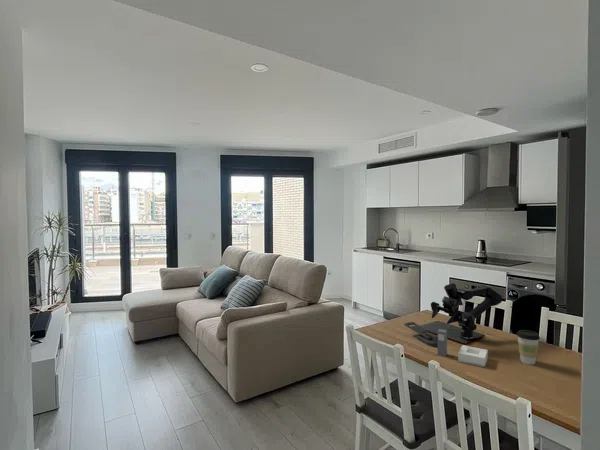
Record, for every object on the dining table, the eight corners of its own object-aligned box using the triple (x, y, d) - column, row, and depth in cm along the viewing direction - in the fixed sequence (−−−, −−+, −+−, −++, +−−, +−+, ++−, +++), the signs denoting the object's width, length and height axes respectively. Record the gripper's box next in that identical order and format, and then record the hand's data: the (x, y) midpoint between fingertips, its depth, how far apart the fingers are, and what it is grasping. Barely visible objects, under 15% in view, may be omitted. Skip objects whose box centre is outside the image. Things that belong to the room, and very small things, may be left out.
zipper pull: (413, 321, 219) (444, 333, 196) (413, 331, 219) (444, 345, 196) (402, 323, 216) (432, 336, 193) (402, 333, 216) (432, 347, 193)
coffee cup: (512, 359, 175) (512, 331, 175) (524, 356, 179) (524, 328, 179) (531, 367, 166) (531, 337, 166) (544, 363, 170) (544, 334, 170)
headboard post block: (462, 353, 185) (462, 345, 184) (487, 358, 178) (487, 349, 177) (458, 361, 175) (458, 352, 175) (484, 367, 168) (484, 358, 168)
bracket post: (439, 352, 187) (439, 328, 186) (447, 353, 184) (447, 330, 184) (437, 355, 183) (437, 331, 182) (445, 356, 180) (445, 332, 180)
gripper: (436, 288, 204) (422, 304, 197) (467, 298, 190) (453, 315, 182) (438, 302, 209) (425, 318, 201) (469, 313, 195) (456, 330, 187)
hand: (439, 320), depth 193 cm, fingers open, 9 cm apart
